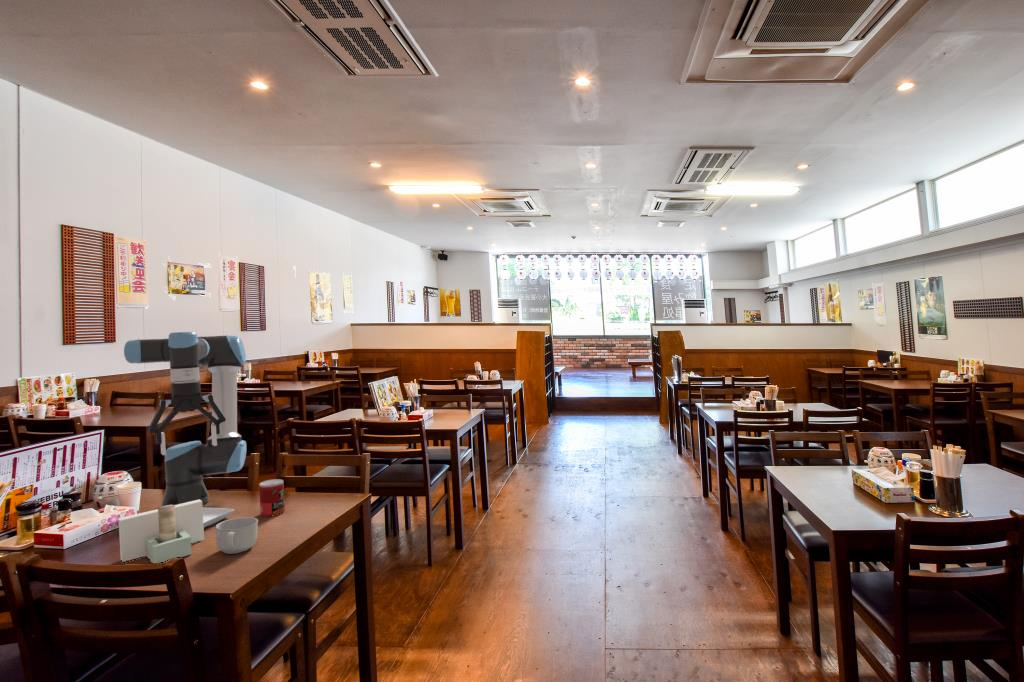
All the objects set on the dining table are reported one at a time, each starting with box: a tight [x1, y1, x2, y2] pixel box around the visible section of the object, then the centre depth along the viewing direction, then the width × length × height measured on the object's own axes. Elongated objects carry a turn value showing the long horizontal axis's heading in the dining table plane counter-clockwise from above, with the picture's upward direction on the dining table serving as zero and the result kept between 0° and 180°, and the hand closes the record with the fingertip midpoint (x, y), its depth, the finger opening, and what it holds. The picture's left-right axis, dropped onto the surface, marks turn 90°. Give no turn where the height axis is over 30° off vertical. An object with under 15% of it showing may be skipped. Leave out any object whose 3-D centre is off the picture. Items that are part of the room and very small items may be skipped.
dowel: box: [157, 505, 177, 543], centre depth 142 cm, size 4×4×14 cm
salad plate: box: [203, 507, 235, 529], centre depth 164 cm, size 21×21×3 cm
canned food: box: [258, 478, 286, 517], centre depth 174 cm, size 8×8×11 cm
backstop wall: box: [118, 499, 205, 563], centre depth 146 cm, size 3×20×12 cm, turn 136°
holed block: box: [146, 529, 193, 564], centre depth 141 cm, size 9×9×5 cm
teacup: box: [215, 516, 259, 555], centre depth 142 cm, size 14×11×8 cm
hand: (189, 449), depth 154 cm, fingers open, 13 cm apart
